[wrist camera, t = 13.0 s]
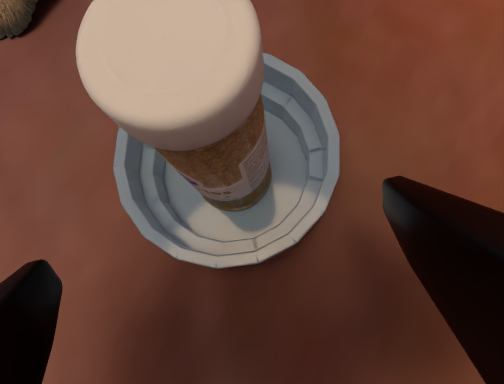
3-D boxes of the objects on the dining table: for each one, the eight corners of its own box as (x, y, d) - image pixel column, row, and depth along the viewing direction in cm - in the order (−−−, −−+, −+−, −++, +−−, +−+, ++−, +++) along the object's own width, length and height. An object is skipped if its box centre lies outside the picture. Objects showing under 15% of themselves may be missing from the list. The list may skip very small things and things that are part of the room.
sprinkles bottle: (184, 194, 21) (31, 81, 8) (217, 127, 22) (124, -73, 9) (254, 225, 21) (206, 157, 8) (285, 156, 21) (292, -18, 8)
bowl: (354, 123, 22) (373, 88, 18) (286, 299, 20) (287, 308, 16) (192, 66, 24) (172, 21, 19) (116, 224, 22) (75, 214, 18)
